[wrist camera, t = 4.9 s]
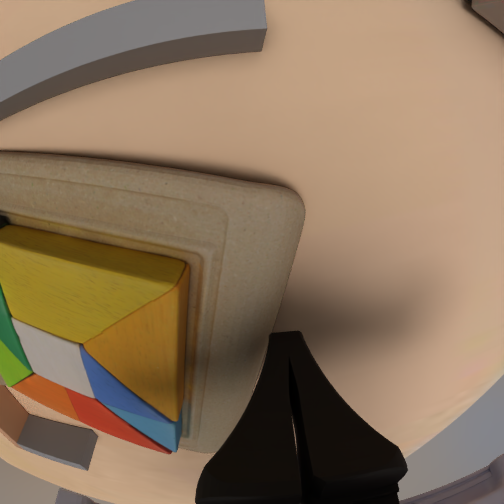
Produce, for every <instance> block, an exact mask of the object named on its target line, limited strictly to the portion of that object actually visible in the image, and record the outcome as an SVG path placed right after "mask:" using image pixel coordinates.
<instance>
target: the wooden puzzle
mask: <svg viewBox="0 0 504 504" xmlns="http://www.w3.org/2000/svg"><path fill="white" fill-rule="evenodd" d="M304 220H305V207H304V203H303V201H302V199H301V198H300V196H299V195H298V194H297V193H296V192H294V191H292V190H290V189H289V188H286V187H281V186H277V185H271V184H264V183H256V182H249V181H243V180H238V179H233V178H228V177H222V176H217V175H211V174H206V173H200V172H193V171H187V170H181V169H174V168H168V167H161V166H154V165H146V164H139V163H131V162H123V161H115V160H106V159H96V158H87V157H77V156H66V155H54V154H40V153H25V152H7V151H0V385H7V386H8V387H12V388H14V389H15V390H17V391H19V392H21V393H22V394H24V395H26V396H28V397H29V398H31V399H33V400H35V401H37V402H39V403H41V404H43V405H45V406H47V407H49V408H51V409H53V410H55V411H57V412H59V413H61V414H64V415H66V416H68V417H70V418H73V419H75V420H78V421H81V422H82V423H84V424H87V425H89V426H91V427H93V428H95V429H98V430H100V431H102V432H105V433H107V434H110V435H112V436H115V437H118V438H120V439H123V440H126V441H129V442H132V443H134V444H137V445H140V446H143V447H146V448H149V449H152V450H156V451H159V452H162V453H166V454H171V453H172V451H173V452H177V450H178V448H182V449H186V450H191V451H195V452H200V453H215V452H217V451H218V450H219V449H220V448H221V446H222V445H223V444H224V442H225V441H226V439H227V438H228V437H229V435H230V434H231V432H232V431H233V429H234V428H235V426H236V425H237V423H238V421H239V420H240V418H241V416H242V415H243V413H244V411H245V409H246V407H247V405H248V403H249V401H250V398H251V395H252V392H253V389H254V386H255V383H256V380H257V377H258V374H259V371H260V368H261V365H262V362H263V358H264V355H265V352H266V349H267V346H268V343H269V335H270V334H271V333H272V330H273V327H274V324H275V321H276V317H277V314H278V311H279V308H280V304H281V301H282V298H283V295H284V291H285V288H286V285H287V281H288V278H289V274H290V271H291V268H292V264H293V261H294V257H295V254H296V250H297V247H298V243H299V240H300V236H301V232H302V229H303V225H304Z"/></svg>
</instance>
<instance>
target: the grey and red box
mask: <svg viewBox="0 0 504 504" xmlns="http://www.w3.org/2000/svg"><path fill="white" fill-rule="evenodd" d="M467 1H469V2H470V3H471V4H472V8H473V9H474V10H475V11H476V12H477V13H478V14H480V15H481V16H482V17H484V18H485V19H486V20H488V21H489V22H490V23H491V24H493V25H494V26H495V27H496V28H498V29H499V30H500V31H501V32H502V33H503V34H504V0H467Z"/></svg>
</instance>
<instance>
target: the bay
mask: <svg viewBox="0 0 504 504" xmlns="http://www.w3.org/2000/svg"><path fill="white" fill-rule="evenodd" d="M266 31H267V23H266V13H265V4H264V0H135V1H131V2H128V3H125V4H121V5H118V6H115V7H112V8H109V9H106V10H103V11H101V12H98V13H95V14H92V15H90V16H87V17H85V18H82V19H80V20H77V21H75V22H73V23H70V24H68V25H66V26H63V27H61V28H59V29H57V30H55V31H53V32H51V33H48V34H46V35H44V36H42V37H40V38H38V39H37V40H35V41H33V42H31V43H29V44H27V45H25V46H24V47H22V48H20V49H18V50H16V51H15V52H13V53H11V54H10V55H8V56H6V57H5V58H3V59H2V60H0V121H1V120H3V119H5V118H7V117H9V116H11V115H13V114H15V113H17V112H19V111H21V110H24V109H26V108H28V107H30V106H32V105H35V104H37V103H39V102H42V101H44V100H47V99H49V98H52V97H54V96H57V95H59V94H62V93H65V92H67V91H70V90H73V89H76V88H78V87H81V86H84V85H87V84H90V83H93V82H97V81H100V80H103V79H106V78H110V77H113V76H117V75H120V74H124V73H128V72H132V71H136V70H140V69H144V68H148V67H153V66H157V65H162V64H167V63H172V62H178V61H183V60H189V59H195V58H202V57H209V56H217V55H225V54H234V53H245V52H259V51H262V47H263V43H264V39H265V35H266ZM0 432H1V433H2V434H3V435H4V436H5V437H6V438H7V439H8V440H9V441H11V442H12V443H13V444H14V445H15V446H16V447H19V448H21V449H24V450H26V451H29V452H31V453H34V454H37V455H39V456H42V457H45V458H48V459H50V460H53V461H56V462H60V463H63V464H66V465H69V466H72V467H76V468H79V469H83V470H87V471H88V469H89V465H90V462H91V458H92V455H93V451H94V448H95V445H96V442H97V438H98V436H97V435H96V434H95V433H94V432H93V431H92V430H90V429H85V428H80V427H76V426H71V425H67V424H63V423H59V422H55V421H51V420H47V419H44V418H40V417H37V416H33V415H30V414H28V412H27V411H26V410H25V409H24V408H23V407H22V406H21V405H20V404H19V402H18V401H17V400H16V399H15V398H14V397H13V395H12V394H11V393H10V392H9V391H8V389H7V388H6V387H5V386H4V385H0Z"/></svg>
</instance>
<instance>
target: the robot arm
mask: <svg viewBox="0 0 504 504" xmlns="http://www.w3.org/2000/svg"><path fill="white" fill-rule="evenodd" d="M292 418H293V421H292ZM293 424H294V429H295V436H296V444H295V437H294V429H293ZM296 446H297V452H296ZM407 471H408V469H407V464H406V461H405V459H404V457H403V455H402V453H401V451H400V449H399V447H398V446H396V445H395V444H393V443H392V442H390V441H389V440H388V439H386V438H385V437H383V436H382V435H381V434H380V433H378V432H377V431H376V430H375V429H373V428H372V427H371V426H370V425H369V424H368V423H366V422H365V421H364V420H363V419H362V418H361V417H360V416H359V415H358V414H357V413H356V412H355V411H354V410H353V409H352V408H351V407H350V406H349V405H348V404H347V403H346V402H345V401H344V400H343V398H342V397H341V396H340V395H339V394H338V392H337V391H336V390H335V389H334V387H333V386H332V385H331V383H330V382H329V381H328V379H327V378H326V376H325V375H324V374H323V372H322V371H321V369H320V367H319V366H318V364H317V363H316V361H315V359H314V358H313V356H312V354H311V352H310V350H309V348H308V346H307V344H306V342H305V340H304V338H303V335H302V333H301V332H300V331H290V332H277V333H271V334H270V335H269V343H268V349H267V354H266V358H265V362H264V365H263V369H262V372H261V375H260V378H259V380H258V383H257V385H256V388H255V390H254V393H253V395H252V397H251V399H250V401H249V403H248V405H247V407H246V409H245V411H244V413H243V415H242V416H241V418H240V420H239V421H238V423H237V425H236V426H235V428H234V429H233V431H232V432H231V434H230V435H229V437H228V438H227V439H226V441H225V442H224V444H223V445H222V446H221V448H220V449H219V450H218V451H217V452H216V454H215V455H214V456H213V457H212V458H211V459H210V461H209V462H208V463H207V464H206V465H205V467H204V469H203V471H202V473H201V476H200V478H199V481H198V484H197V488H196V497H195V503H196V504H504V454H502V455H500V456H499V457H497V458H496V459H495V460H494V461H492V462H491V463H490V464H489V465H488V466H486V467H484V468H482V469H480V470H478V471H476V472H474V473H472V474H470V475H468V476H465V477H463V478H461V479H459V480H456V481H454V482H452V483H449V484H447V485H444V486H442V487H439V488H437V489H434V490H431V491H428V492H426V493H423V494H420V495H417V496H414V497H411V498H408V499H405V500H401V501H399V499H398V495H397V492H399V487H398V482H399V480H401V479H402V478H403V477H404V476H405V474H406V473H407ZM55 504H99V503H95V502H94V501H93V500H91V499H90V498H88V497H86V496H83V495H81V494H78V493H74V492H72V491H69V490H66V489H63V488H59V491H58V495H57V498H56V502H55Z"/></svg>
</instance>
